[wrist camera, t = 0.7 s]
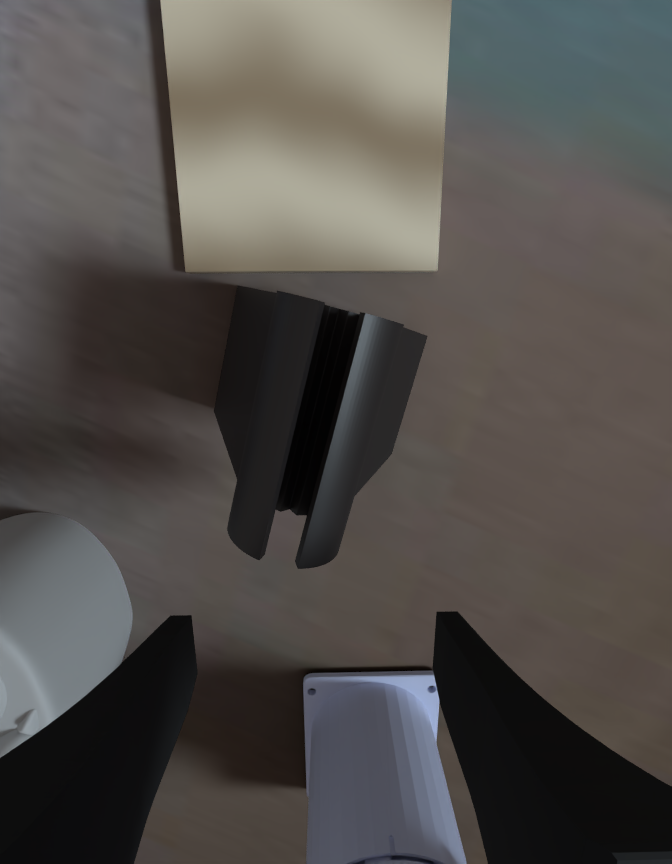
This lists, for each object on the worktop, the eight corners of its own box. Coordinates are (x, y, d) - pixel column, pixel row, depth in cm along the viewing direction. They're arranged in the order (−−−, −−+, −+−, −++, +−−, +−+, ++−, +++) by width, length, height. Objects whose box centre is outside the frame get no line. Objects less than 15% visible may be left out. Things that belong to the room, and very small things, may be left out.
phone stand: (215, 408, 21) (81, 522, 10) (239, 284, 20) (115, 242, 8) (390, 452, 22) (459, 605, 10) (426, 335, 21) (554, 363, 9)
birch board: (433, 272, 20) (437, 270, 19) (191, 273, 20) (185, 271, 19) (448, -27, 17) (453, -44, 16) (164, -30, 17) (156, -46, 16)
